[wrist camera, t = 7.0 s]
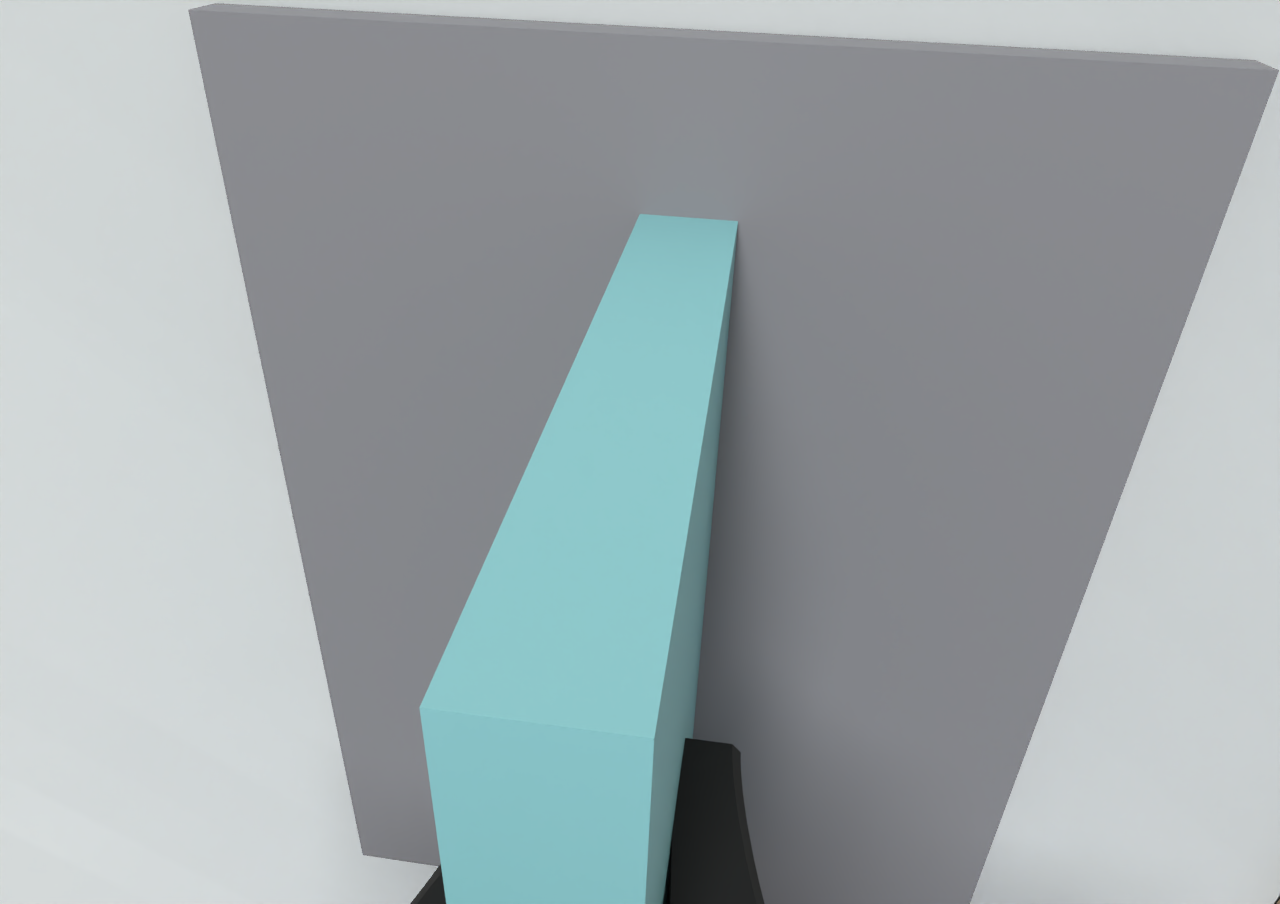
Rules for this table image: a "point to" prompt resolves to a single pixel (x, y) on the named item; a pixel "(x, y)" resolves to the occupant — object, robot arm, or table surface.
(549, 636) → the sheet
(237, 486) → the table surface
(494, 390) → the mat
